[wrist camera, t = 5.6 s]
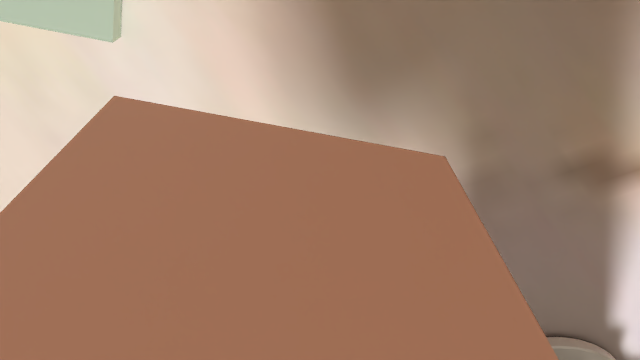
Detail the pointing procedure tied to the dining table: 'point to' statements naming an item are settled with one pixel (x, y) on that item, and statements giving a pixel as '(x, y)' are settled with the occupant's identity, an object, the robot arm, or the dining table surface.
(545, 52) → the dining table surface
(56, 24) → the board
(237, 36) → the dining table surface
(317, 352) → the brick
